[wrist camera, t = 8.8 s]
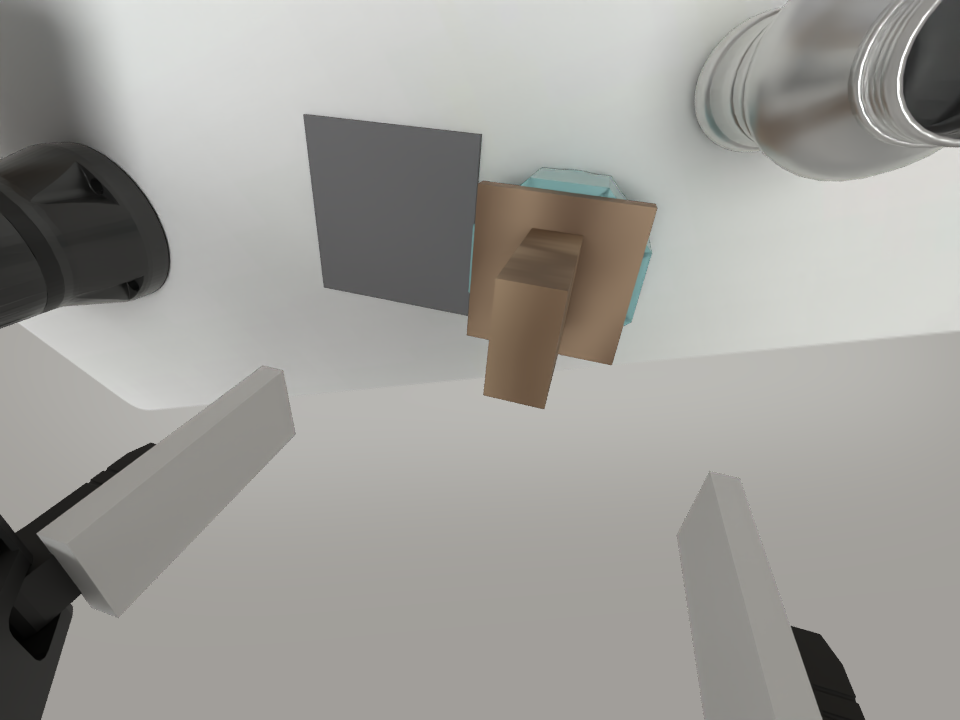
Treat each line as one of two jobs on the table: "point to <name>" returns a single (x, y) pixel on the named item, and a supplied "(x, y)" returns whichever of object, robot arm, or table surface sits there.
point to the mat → (394, 209)
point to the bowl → (590, 186)
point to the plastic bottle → (837, 86)
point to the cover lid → (550, 281)
